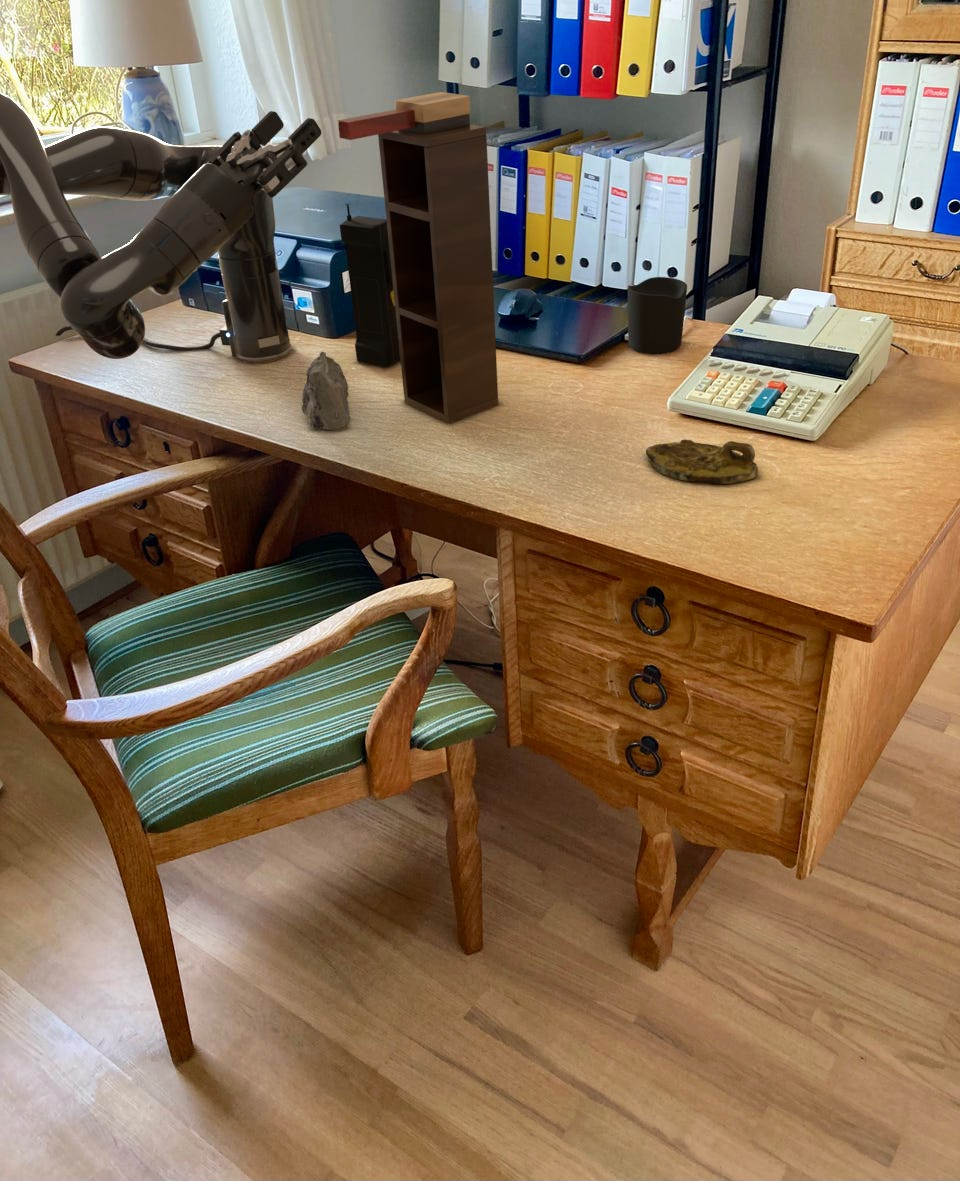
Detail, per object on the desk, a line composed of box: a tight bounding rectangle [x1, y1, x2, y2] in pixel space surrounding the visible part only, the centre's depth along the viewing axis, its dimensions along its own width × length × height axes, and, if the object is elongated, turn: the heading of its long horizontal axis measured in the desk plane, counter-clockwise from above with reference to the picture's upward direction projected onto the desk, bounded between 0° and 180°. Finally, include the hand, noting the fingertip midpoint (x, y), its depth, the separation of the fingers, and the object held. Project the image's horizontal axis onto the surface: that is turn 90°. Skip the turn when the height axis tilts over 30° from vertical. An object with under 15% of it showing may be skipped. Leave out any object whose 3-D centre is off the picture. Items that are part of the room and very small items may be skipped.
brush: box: [337, 91, 471, 141], centre depth 130 cm, size 6×18×4 cm, turn 129°
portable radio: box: [339, 203, 401, 368], centre depth 164 cm, size 8×6×25 cm
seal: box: [645, 439, 758, 485], centre depth 133 cm, size 9×5×15 cm
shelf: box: [377, 123, 499, 425], centre depth 144 cm, size 11×10×39 cm
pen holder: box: [627, 276, 688, 355], centre depth 167 cm, size 9×9×10 cm
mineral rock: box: [301, 351, 351, 431], centre depth 152 cm, size 13×11×10 cm
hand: (297, 120), depth 121 cm, fingers open, 8 cm apart
